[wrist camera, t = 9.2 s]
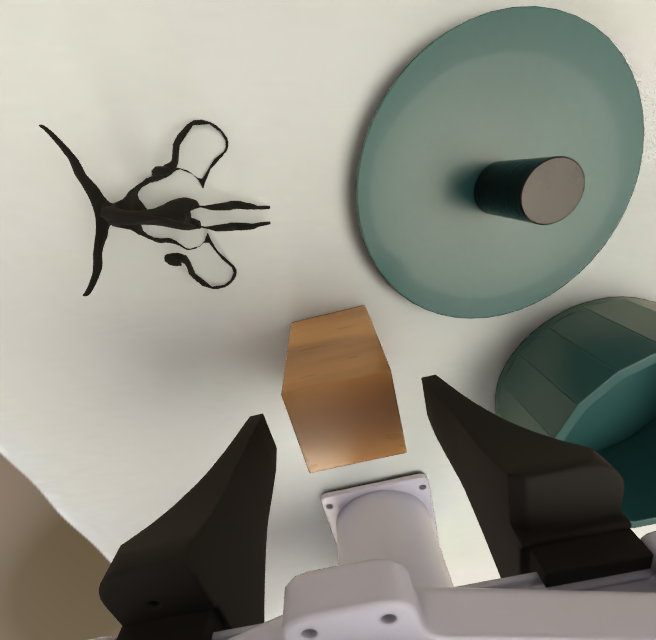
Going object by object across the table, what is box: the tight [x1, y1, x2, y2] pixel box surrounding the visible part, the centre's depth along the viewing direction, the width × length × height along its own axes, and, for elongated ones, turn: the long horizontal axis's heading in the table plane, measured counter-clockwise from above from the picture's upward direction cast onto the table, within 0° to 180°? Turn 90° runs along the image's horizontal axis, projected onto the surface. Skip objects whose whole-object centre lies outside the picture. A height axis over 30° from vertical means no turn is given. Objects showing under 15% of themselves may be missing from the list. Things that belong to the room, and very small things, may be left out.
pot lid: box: [356, 6, 644, 319], centre depth 15 cm, size 14×14×5 cm
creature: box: [39, 120, 270, 296], centre depth 15 cm, size 8×5×8 cm
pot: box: [495, 297, 656, 528], centre depth 20 cm, size 12×13×6 cm
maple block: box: [281, 306, 406, 473], centre depth 17 cm, size 4×4×7 cm
